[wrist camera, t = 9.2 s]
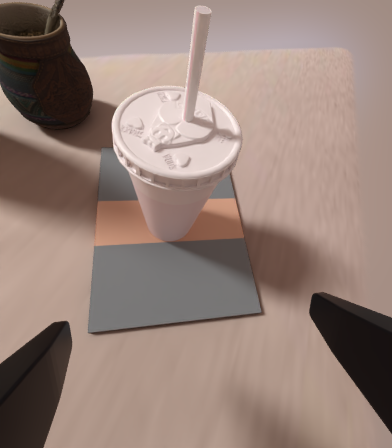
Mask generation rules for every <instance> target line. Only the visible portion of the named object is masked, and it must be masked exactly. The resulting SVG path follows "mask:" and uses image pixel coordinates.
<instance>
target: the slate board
mask: <svg viewBox="0 0 392 448" xmlns="http://www.w3.org/2000/svg"><path fill="white" fill-rule="evenodd" d="M255 313H261V308H260V304H259V299H258V295H257V291H256V286H255V282H254V278H253V273H252V269H251V265H250V260H249V256H248V252H247V247H246V243H245V239H244V234H243V230H242V226H241V221H240V217H239V213H238V209H237V204H236V200H235V196H234V191H233V187H232V183H231V178H230V174H229V175H228V176H227V177H226V178H225V179H223V180H222V181H220V182H219V183H218V184H217V186H216V187H215V189H214V190H213V192H212V194H211V195H210V197H209V199H208V200H207V202H206V203H205V205H204V207H203V208H202V210H201V212H200V213H199V215H198V217H197V218H196V220H195V222H194V223H193V225H192V227H191V228H190V230H189V232H188V233H187V234H186V235H185V236H184V237H183V238H181V239H179V240H176V241H163V240H160V239H158V238H156V237H155V236H154V235H153V234H152V233H151V232H150V231H149V229H148V226H147V223H146V220H145V218H144V215H143V212H142V209H141V206H140V203H139V200H138V197H137V194H136V191H135V189H134V186H133V183H132V180H131V177H130V175H129V172H128V171H127V169H126V168H125V167H124V166H123V165H122V164H121V163H120V162H119V159H118V157H117V155H116V153H115V151H114V148H104V147H102V150H101V163H100V177H99V190H98V203H97V217H96V230H95V243H94V256H93V270H92V283H91V296H90V309H89V323H88V333H95V332H103V331H111V330H120V329H128V328H137V327H145V326H154V325H162V324H171V323H179V322H188V321H196V320H205V319H213V318H221V317H230V316H238V315H247V314H255Z"/></svg>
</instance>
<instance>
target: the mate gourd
mask: <svg viewBox="0 0 392 448" xmlns="http://www.w3.org/2000/svg"><path fill="white" fill-rule="evenodd" d="M63 3H64V0H56V1H55V4H54V6H53V7H52V9H50V8H48V7H45V6H42V5H38V4H32V3H22V2H14V3H13V2H12V3H4V4H0V85H1V87H2V90H3V92H4V94H5V95H6V97H7V98H8V100H9V101H10V102H11V103H12V105H13V106H14V107H15V108H16V109H17V110H18V111H19V112H20V113H21V114H22V115H23V117H25V118H26V119H27V120H29V121H31V122H33V123H35V124H37V125H39V126H42V127H47V128H52V129H65V128H70V127H73V126H75V125H77V124H79V123H80V122H82V121H83V120H84V119H85V118H86V117H87V116H88V115H89V113H90V108H91V105H92V99H93V88H92V85H91V81H90V78H89V75H88V73H87V70H86V68H85V66H84V65H83V63H82V62H81V61H80V59H79V58H78V57H77V55H76V54H75V52H74V51H73V49H72V47H71V45H70V36H69V34H68V30H67V25H66V22H65V20H64V19H63V17H62V16H61V15H60V14H58V13H59V12H60V10H61V8H62V6H63Z"/></svg>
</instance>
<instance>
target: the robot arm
mask: <svg viewBox="0 0 392 448" xmlns="http://www.w3.org/2000/svg"><path fill="white" fill-rule="evenodd" d="M309 313H310V316H311V318H312V320H313V322H314V323H315V325H316V327H317V328H318V330H319V331H320V333H321V335H322V336H323V338H324V340H325V341H326V343H327V345H328V346H329V348H330V349H331V351H332V353H333V354H334V355H335V357H336V358H337V360H338V361H339V362H340V364H341V365H342V367H343V368H344V369H345V371H346V372H347V373H348V375H349V376H350V377H351V379H352V380H353V382H354V383H355V384H356V386H357V387H358V388H359V390H360V391H361V392H362V394H363V395H364V397H365V398H366V399H367V401H368V402H369V403H370V405H371V406H372V408H373V409H374V410H375V412H376V413H377V414H378V416H379V417H380V418H381V420H382V421H383V423H384V424H385V425H386V427H387V428H388V429H389V431H390V432H391V433H392V318H391V317H388V316H386V315H383V314H380V313H377V312H375V311H372V310H370V309H367V308H364V307H362V306H359V305H356V304H354V303H351V302H349V301H346V300H343V299H341V298H338V297H335V296H333V295H330V294H327V293H324V292H320V293H314V294H313V295H312V299H311V304H310V309H309ZM71 350H72V337H71V332H70V326H69V323H68V322H67V321H60V322H54V323H52V324H51V325H50V326H48V327H47V328H46V329H44V330H43V331H42V332H41V333H39V334H38V335H37V336H35V337H34V338H33V339H32V340H30V341H29V342H28V343H26V344H25V345H24V346H23V347H21V348H20V349H19V350H17V351H16V352H15V353H14V354H12V355H11V356H10V357H8V358H7V359H6V360H4V361H3V362H2V363H1V364H0V448H43V447H44V444H45V442H46V439H47V436H48V433H49V430H50V427H51V424H52V421H53V418H54V415H55V412H56V409H57V406H58V403H59V400H60V397H61V393H62V389H63V384H64V380H65V376H66V371H67V367H68V363H69V358H70V354H71Z"/></svg>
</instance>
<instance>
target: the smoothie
mask: <svg viewBox="0 0 392 448" xmlns="http://www.w3.org/2000/svg"><path fill="white" fill-rule="evenodd" d="M210 16H211V10H210V9H209V8H207V7H205V6H196V7H195V11H194V20H193V28H192V37H191V46H190V54H189V63H188V71H187V80H186V88H185V87H179V86H158V87H152V88H147V89H144V90H141V91H139V92H136V93H134V94H133V95H131V96H129V97H128V98H126V99H125V100H124V101H123V102H122V103H121V104H120V105H119V106H118V108H117V109H116V111H115V113H114V116H113V119H112V134H113V146H114V151H115V153H116V155H117V157H118V159H119V162H120V163H121V164H122V165H123V166H124V167H125V168H126V169H127V171H128V172H129V175H130V177H131V180H132V183H133V186H134V189H135V191H136V194H137V197H138V200H139V203H140V206H141V209H142V212H143V215H144V218H145V220H146V223H147V226H148V229H149V231H150V232H151V233H152V234H153V235H154V236H155V237H156V238H158V239H160V240H163V241H176V240H179V239H181V238H183V237H184V236H185V235H186V234H187V233H188V232H189V230H190V228H191V227H192V225H193V223H194V222H195V220H196V218H197V217H198V215H199V213H200V212H201V210H202V208H203V207H204V205H205V203H206V202H207V200H208V199H209V197H210V195H211V194H212V192H213V190H214V189H215V187H216V186H217V184H218V183H219V182H220V181H222V180H223V179H225V178H226V177H227V176H228V175H229V174H230V172H231V171H232V170H233V168H234V167H235V165H236V162H237V158H238V155H239V152H240V150H241V147H242V131H241V128H240V125H239V123H238V121H237V119H236V118H235V116H234V115H233V114H232V113H231V111H230V110H229V109H228V108H227V107H226V106H224V105H223V104H222V103H221V102H219V101H218V100H216V99H215V98H213V97H211V96H209V95H207V94H205V93H202V92H200V91H198V89H199V83H200V77H201V71H202V65H203V59H204V53H205V46H206V41H207V35H208V29H209V22H210Z"/></svg>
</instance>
